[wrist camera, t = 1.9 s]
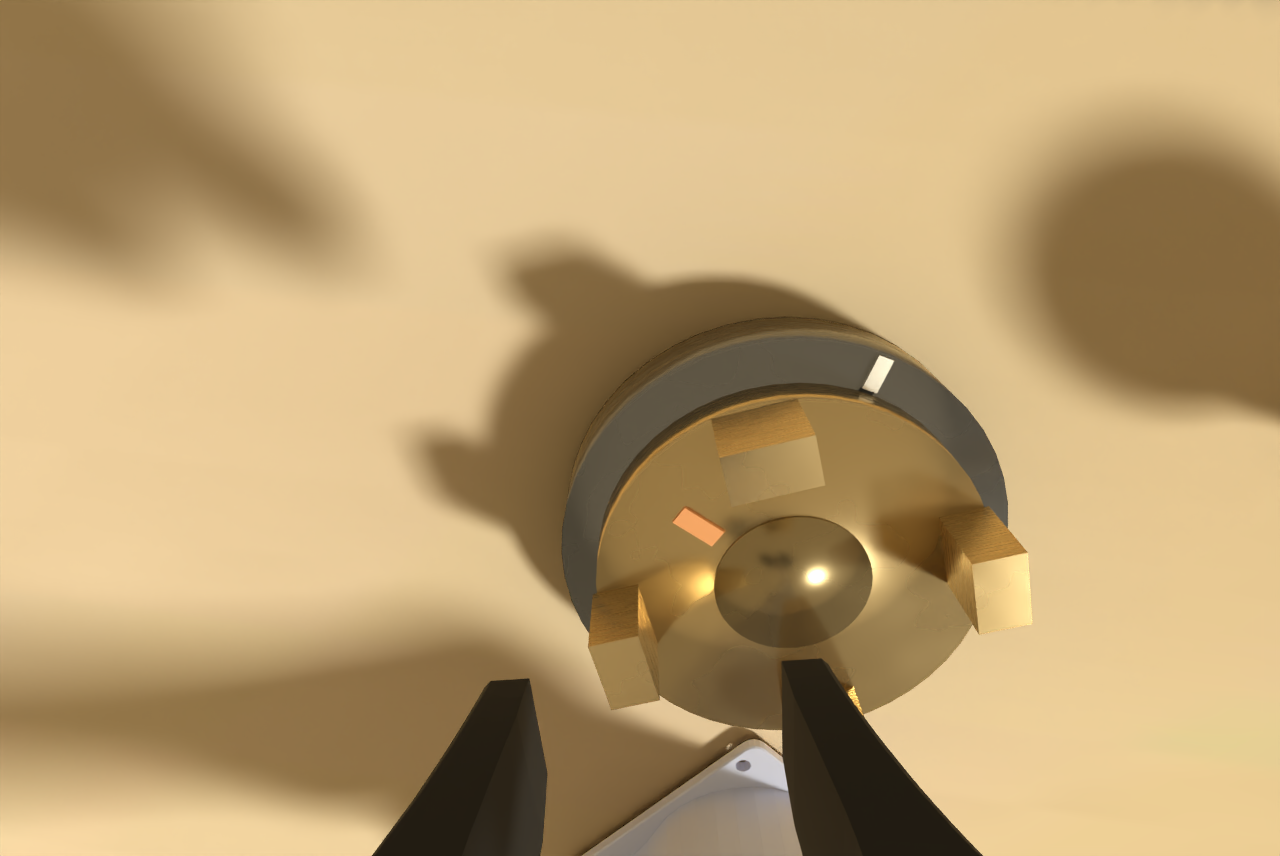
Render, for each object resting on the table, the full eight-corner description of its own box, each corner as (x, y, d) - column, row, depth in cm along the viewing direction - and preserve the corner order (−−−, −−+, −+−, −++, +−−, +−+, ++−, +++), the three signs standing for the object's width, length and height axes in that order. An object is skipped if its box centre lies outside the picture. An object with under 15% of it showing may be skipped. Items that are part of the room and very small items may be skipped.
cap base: (753, 729, 26) (762, 780, 24) (483, 514, 22) (469, 554, 20) (1057, 514, 22) (1097, 554, 20) (795, 220, 19) (813, 235, 17)
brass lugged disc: (765, 750, 23) (784, 845, 20) (521, 556, 20) (501, 635, 17) (1046, 556, 20) (1115, 635, 17) (808, 298, 17) (842, 340, 14)
